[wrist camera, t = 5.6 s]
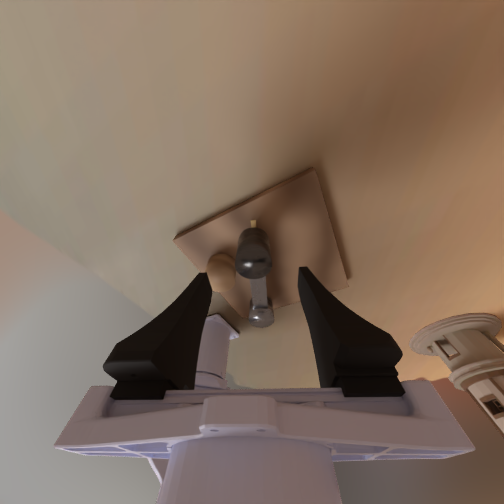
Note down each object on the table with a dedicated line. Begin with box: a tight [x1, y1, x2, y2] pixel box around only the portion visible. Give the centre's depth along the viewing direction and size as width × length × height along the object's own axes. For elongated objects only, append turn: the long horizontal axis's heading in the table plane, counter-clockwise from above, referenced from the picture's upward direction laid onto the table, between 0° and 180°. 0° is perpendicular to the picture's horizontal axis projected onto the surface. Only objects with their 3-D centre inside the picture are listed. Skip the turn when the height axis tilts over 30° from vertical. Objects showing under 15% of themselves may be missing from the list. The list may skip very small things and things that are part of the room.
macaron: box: [205, 254, 237, 292], centre depth 23 cm, size 4×4×3 cm
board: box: [173, 167, 349, 318], centre depth 25 cm, size 18×18×1 cm
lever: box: [235, 227, 274, 328], centre depth 22 cm, size 16×4×6 cm, turn 5°
